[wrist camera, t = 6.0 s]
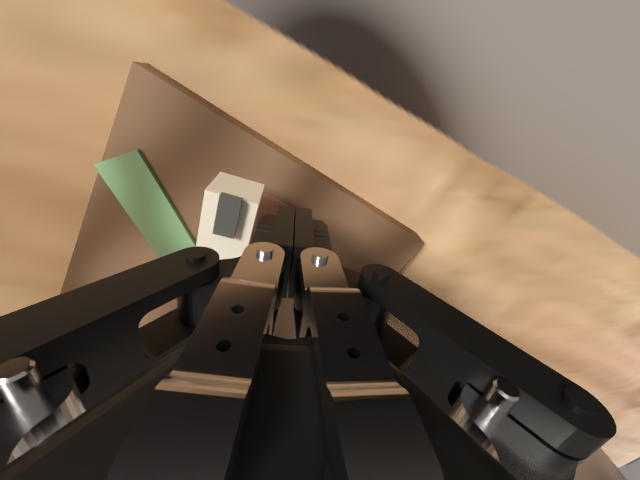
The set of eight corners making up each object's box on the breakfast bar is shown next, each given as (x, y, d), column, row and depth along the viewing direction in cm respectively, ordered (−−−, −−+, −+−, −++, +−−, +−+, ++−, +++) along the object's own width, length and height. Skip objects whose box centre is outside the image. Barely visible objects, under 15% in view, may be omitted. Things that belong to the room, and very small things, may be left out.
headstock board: (416, 232, 20) (426, 245, 18) (285, 381, 26) (284, 400, 25) (144, 61, 14) (125, 58, 12) (63, 308, 20) (44, 326, 19)
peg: (287, 174, 15) (283, 221, 10) (240, 337, 21) (222, 422, 16) (211, 151, 14) (163, 189, 9) (183, 327, 20) (143, 414, 15)
